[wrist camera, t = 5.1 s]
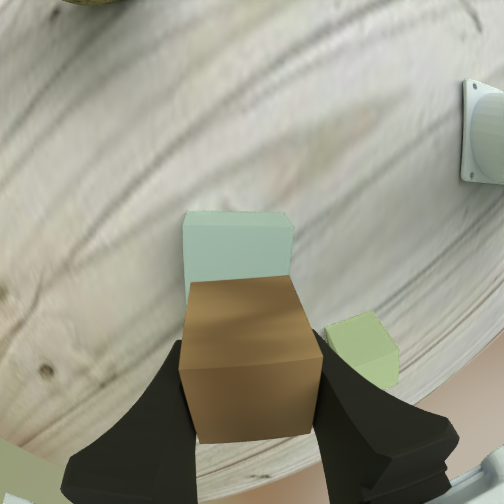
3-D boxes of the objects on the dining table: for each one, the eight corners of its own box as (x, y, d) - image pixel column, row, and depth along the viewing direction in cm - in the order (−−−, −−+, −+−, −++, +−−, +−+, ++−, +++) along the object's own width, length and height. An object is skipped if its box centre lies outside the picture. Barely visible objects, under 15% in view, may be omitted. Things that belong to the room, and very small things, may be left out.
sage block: (371, 309, 23) (399, 349, 19) (374, 344, 25) (397, 383, 21) (325, 326, 24) (345, 370, 19) (331, 360, 25) (350, 403, 21)
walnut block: (288, 275, 13) (323, 356, 8) (286, 348, 14) (310, 433, 10) (190, 282, 13) (178, 369, 8) (202, 355, 14) (200, 443, 10)
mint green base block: (283, 211, 20) (294, 226, 17) (276, 293, 22) (283, 317, 19) (187, 209, 19) (182, 225, 16) (190, 293, 22) (187, 318, 19)
